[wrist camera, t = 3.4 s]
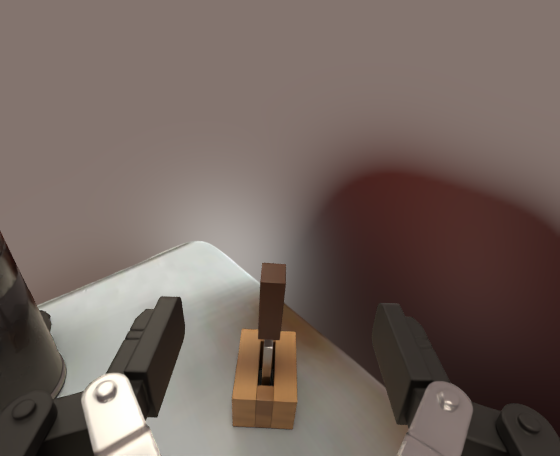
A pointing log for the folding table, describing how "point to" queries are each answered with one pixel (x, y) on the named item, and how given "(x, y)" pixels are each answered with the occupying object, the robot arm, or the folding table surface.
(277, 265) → the knife
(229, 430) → the folding table surface
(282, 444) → the folding table surface
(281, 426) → the knife stand
